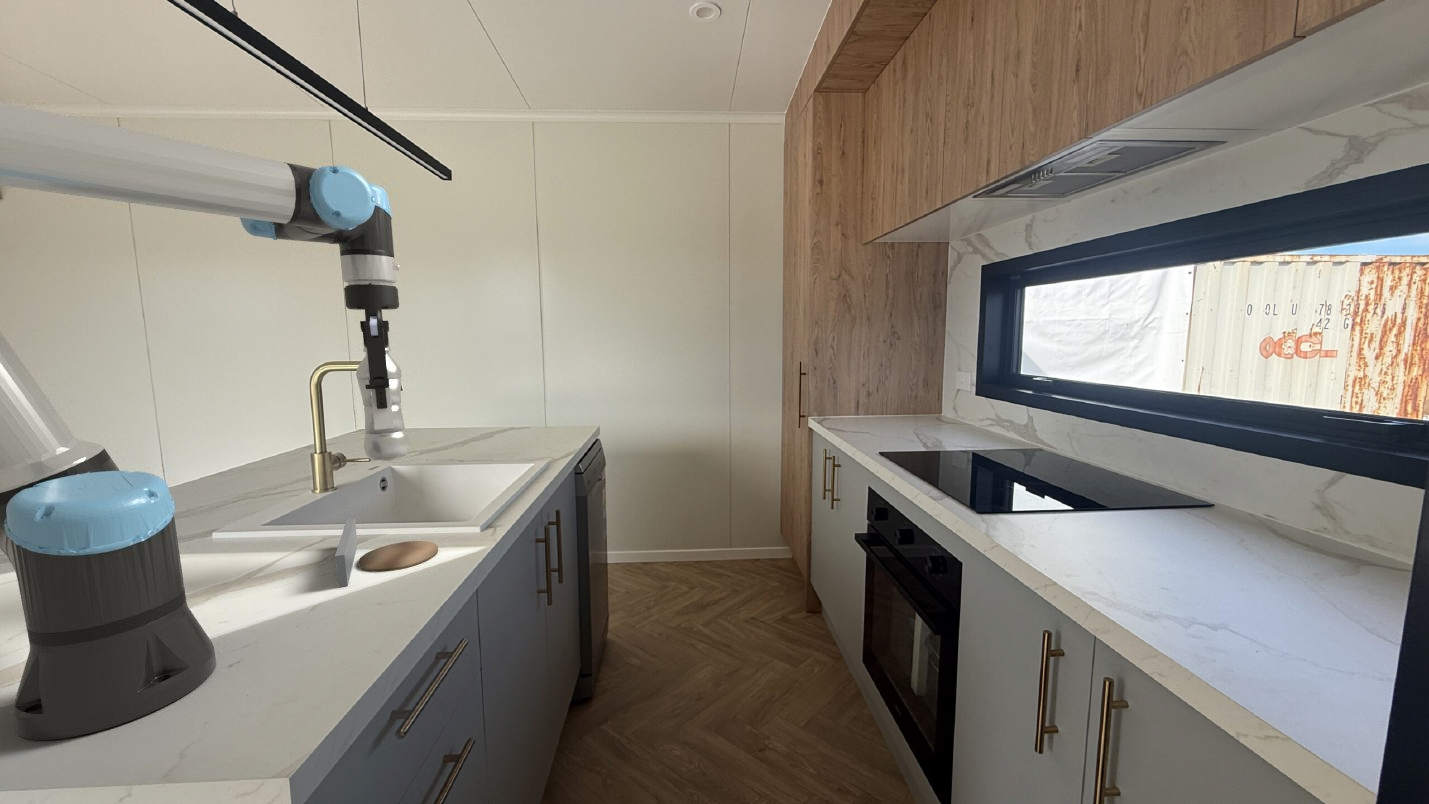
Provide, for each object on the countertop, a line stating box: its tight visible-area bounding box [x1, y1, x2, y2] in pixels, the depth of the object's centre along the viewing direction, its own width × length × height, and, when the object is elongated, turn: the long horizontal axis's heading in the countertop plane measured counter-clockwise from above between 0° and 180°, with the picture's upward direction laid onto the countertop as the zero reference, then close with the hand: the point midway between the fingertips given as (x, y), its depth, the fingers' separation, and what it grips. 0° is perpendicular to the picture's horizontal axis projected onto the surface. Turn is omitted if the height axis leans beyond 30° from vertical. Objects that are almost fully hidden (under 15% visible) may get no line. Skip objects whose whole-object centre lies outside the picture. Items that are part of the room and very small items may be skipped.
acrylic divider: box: [334, 517, 358, 588], centre depth 96 cm, size 1×20×5 cm, turn 28°
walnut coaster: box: [358, 540, 439, 572], centre depth 99 cm, size 12×12×1 cm
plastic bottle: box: [355, 339, 410, 462], centre depth 96 cm, size 6×7×20 cm
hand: (384, 425), depth 96 cm, fingers closed on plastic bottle, 6 cm apart
